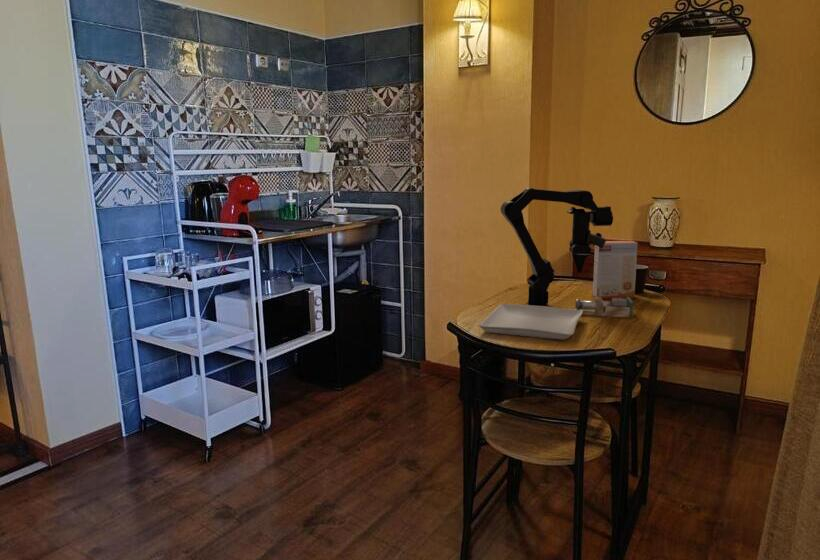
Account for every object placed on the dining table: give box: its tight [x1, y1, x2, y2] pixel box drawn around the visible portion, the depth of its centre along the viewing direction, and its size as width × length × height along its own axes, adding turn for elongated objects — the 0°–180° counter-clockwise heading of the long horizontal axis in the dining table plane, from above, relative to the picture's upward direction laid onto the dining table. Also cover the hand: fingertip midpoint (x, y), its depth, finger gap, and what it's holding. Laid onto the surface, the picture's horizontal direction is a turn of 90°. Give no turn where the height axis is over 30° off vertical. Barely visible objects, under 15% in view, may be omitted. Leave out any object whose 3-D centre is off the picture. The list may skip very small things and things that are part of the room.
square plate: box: [478, 303, 583, 341], centre depth 177 cm, size 27×27×4 cm
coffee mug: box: [635, 264, 649, 295], centre depth 222 cm, size 12×9×10 cm
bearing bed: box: [572, 296, 634, 318], centre depth 191 cm, size 20×7×5 cm, turn 79°
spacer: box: [611, 298, 627, 307], centre depth 190 cm, size 4×4×4 cm
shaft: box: [574, 298, 613, 310], centre depth 191 cm, size 12×4×4 cm, turn 79°
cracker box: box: [592, 240, 639, 299], centre depth 212 cm, size 14×6×21 cm, turn 89°
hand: (578, 270), depth 203 cm, fingers open, 9 cm apart
